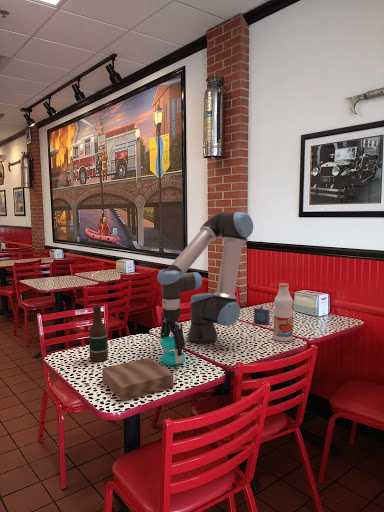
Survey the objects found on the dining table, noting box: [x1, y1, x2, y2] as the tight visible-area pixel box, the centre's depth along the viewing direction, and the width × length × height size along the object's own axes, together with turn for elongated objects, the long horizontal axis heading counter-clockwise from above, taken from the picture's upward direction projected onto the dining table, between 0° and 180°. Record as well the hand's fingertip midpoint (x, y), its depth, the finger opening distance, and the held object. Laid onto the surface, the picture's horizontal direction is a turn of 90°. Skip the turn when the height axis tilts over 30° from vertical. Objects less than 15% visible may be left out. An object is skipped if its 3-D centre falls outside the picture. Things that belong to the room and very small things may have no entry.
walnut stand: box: [101, 357, 175, 402], centre depth 147 cm, size 20×20×5 cm
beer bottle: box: [88, 304, 109, 363], centre depth 171 cm, size 8×8×24 cm
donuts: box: [159, 335, 185, 366], centre depth 167 cm, size 10×10×10 cm
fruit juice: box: [273, 282, 294, 342], centre depth 196 cm, size 9×9×28 cm
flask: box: [253, 305, 271, 326], centre depth 223 cm, size 9×3×11 cm, turn 61°
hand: (172, 358), depth 167 cm, fingers closed on donuts, 10 cm apart
